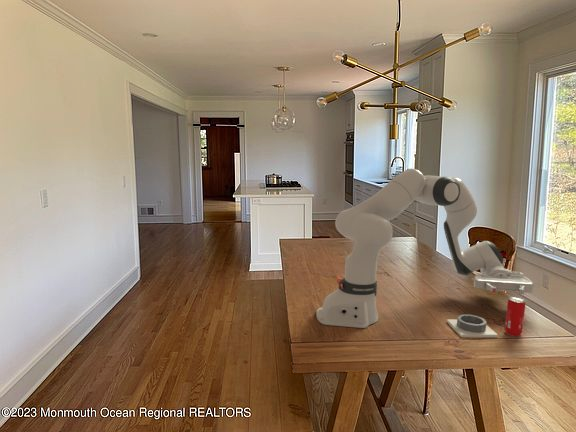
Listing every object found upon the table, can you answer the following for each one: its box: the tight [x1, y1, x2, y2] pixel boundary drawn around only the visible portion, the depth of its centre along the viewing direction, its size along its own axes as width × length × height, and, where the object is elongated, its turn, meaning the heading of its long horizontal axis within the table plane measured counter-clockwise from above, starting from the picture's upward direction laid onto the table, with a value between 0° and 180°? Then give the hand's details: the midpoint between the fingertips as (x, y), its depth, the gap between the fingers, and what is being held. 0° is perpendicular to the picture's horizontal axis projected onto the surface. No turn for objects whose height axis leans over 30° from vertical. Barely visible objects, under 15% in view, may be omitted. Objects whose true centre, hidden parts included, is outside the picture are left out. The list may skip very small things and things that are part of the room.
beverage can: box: [504, 296, 526, 337], centre depth 141 cm, size 5×5×12 cm
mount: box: [446, 314, 498, 338], centre depth 144 cm, size 12×12×4 cm
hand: (507, 291), depth 152 cm, fingers open, 8 cm apart
